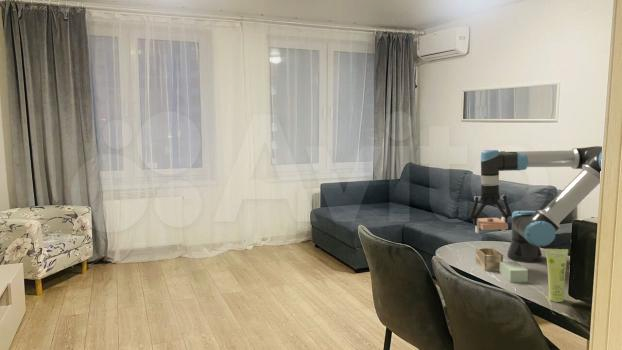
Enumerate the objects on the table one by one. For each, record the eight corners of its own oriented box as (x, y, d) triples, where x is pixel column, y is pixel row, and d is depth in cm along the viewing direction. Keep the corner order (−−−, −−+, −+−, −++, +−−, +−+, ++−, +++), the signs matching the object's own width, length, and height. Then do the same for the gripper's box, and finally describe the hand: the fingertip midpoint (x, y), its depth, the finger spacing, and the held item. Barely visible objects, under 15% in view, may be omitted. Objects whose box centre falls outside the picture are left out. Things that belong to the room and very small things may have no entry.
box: (493, 262, 215) (493, 247, 214) (502, 270, 203) (503, 255, 202) (476, 262, 215) (476, 248, 214) (484, 270, 203) (484, 255, 202)
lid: (497, 222, 213) (497, 215, 213) (508, 229, 200) (508, 221, 200) (473, 223, 214) (473, 216, 213) (482, 230, 201) (482, 222, 200)
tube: (556, 304, 165) (557, 251, 163) (544, 299, 170) (545, 248, 167) (567, 301, 167) (568, 249, 165) (554, 296, 172) (556, 246, 170)
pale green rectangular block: (515, 272, 200) (516, 261, 199) (527, 282, 188) (527, 270, 187) (499, 272, 200) (499, 261, 199) (510, 282, 188) (510, 270, 187)
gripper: (513, 182, 208) (513, 229, 210) (461, 184, 209) (461, 231, 211) (519, 184, 200) (519, 233, 203) (466, 186, 201) (466, 235, 204)
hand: (490, 232), depth 207 cm, fingers closed on lid, 11 cm apart
